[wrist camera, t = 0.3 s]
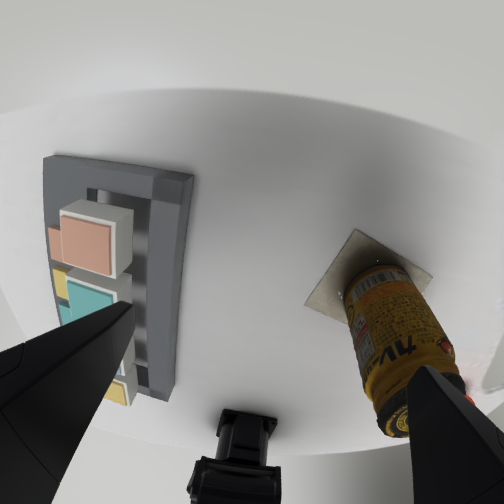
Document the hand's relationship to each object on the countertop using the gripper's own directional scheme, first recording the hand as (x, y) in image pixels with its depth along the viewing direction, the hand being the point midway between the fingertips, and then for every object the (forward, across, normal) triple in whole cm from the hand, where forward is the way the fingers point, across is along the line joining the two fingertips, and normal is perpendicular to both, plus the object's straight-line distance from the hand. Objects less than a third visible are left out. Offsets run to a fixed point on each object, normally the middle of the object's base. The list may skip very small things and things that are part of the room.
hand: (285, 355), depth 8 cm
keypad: (+14, +12, +10) cm, 21 cm away
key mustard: (+12, +11, +17) cm, 24 cm away
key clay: (+12, +12, +3) cm, 17 cm away
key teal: (+12, +12, +8) cm, 18 cm away
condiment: (+14, -8, +4) cm, 17 cm away
